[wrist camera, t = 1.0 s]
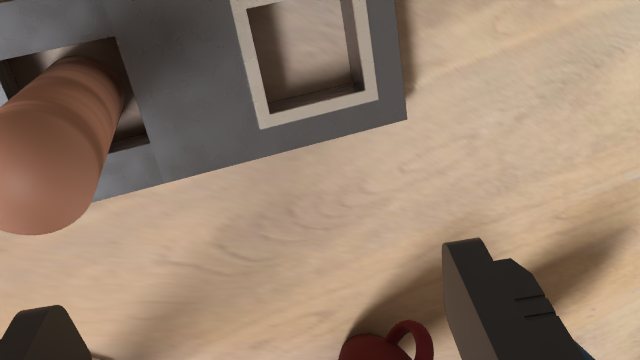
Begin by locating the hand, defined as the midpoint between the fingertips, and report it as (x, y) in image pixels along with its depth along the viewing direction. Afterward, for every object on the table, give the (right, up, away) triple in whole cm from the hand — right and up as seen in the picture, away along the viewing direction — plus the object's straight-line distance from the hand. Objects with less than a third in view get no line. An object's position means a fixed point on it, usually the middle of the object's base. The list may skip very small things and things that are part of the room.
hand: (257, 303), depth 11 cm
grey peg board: (-7, +10, +22) cm, 25 cm away
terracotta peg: (-13, +8, +21) cm, 26 cm away
